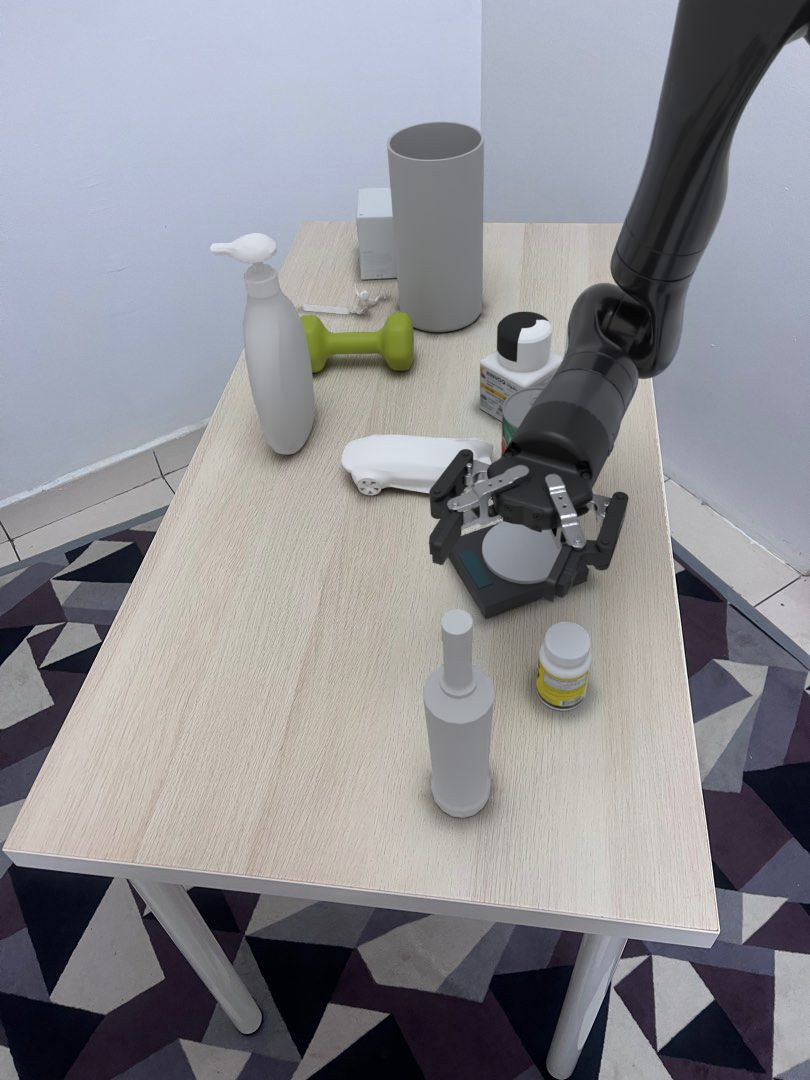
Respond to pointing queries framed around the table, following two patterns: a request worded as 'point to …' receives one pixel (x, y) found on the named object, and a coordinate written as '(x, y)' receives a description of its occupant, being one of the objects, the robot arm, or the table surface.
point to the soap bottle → (273, 348)
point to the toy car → (406, 460)
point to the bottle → (459, 721)
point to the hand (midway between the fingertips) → (491, 575)
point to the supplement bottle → (564, 666)
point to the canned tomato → (516, 412)
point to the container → (517, 360)
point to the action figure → (340, 310)
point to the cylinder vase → (438, 222)
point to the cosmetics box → (376, 233)
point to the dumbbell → (362, 342)
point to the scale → (506, 565)
